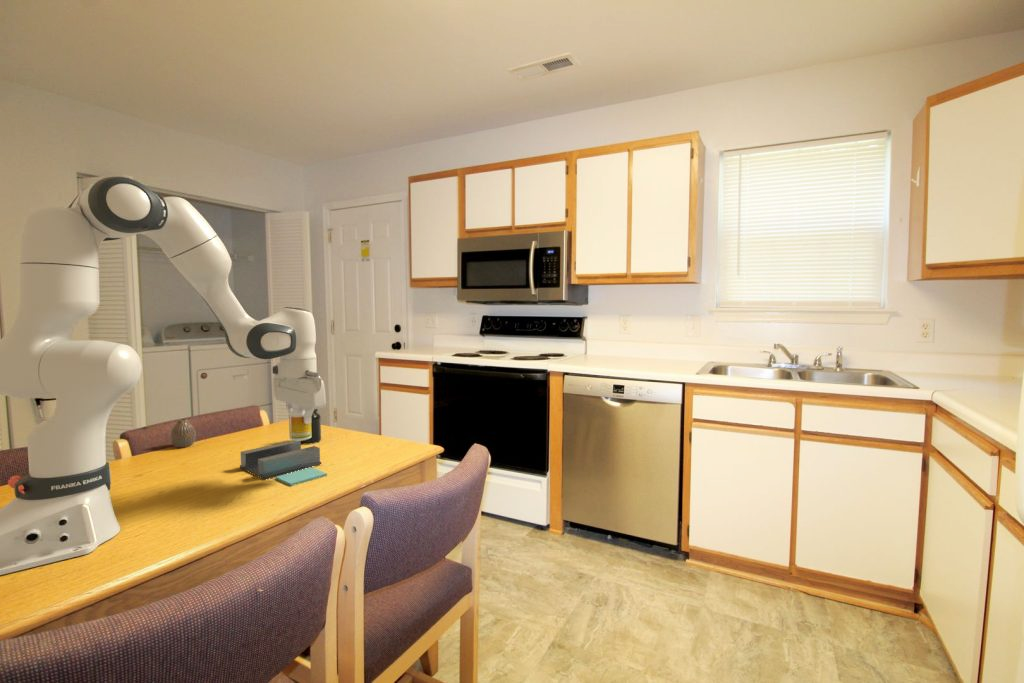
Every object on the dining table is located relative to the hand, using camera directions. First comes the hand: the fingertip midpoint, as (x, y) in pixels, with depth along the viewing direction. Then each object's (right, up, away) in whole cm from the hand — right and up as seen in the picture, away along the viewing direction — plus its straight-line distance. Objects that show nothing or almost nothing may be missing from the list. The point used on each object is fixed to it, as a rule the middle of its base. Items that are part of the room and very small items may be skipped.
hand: (300, 420), depth 130 cm
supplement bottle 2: (-12, -13, +36) cm, 40 cm away
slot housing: (-10, -15, +10) cm, 20 cm away
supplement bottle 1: (0, -5, 0) cm, 5 cm away
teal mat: (0, -15, +1) cm, 15 cm away
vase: (-50, -13, +29) cm, 60 cm away
